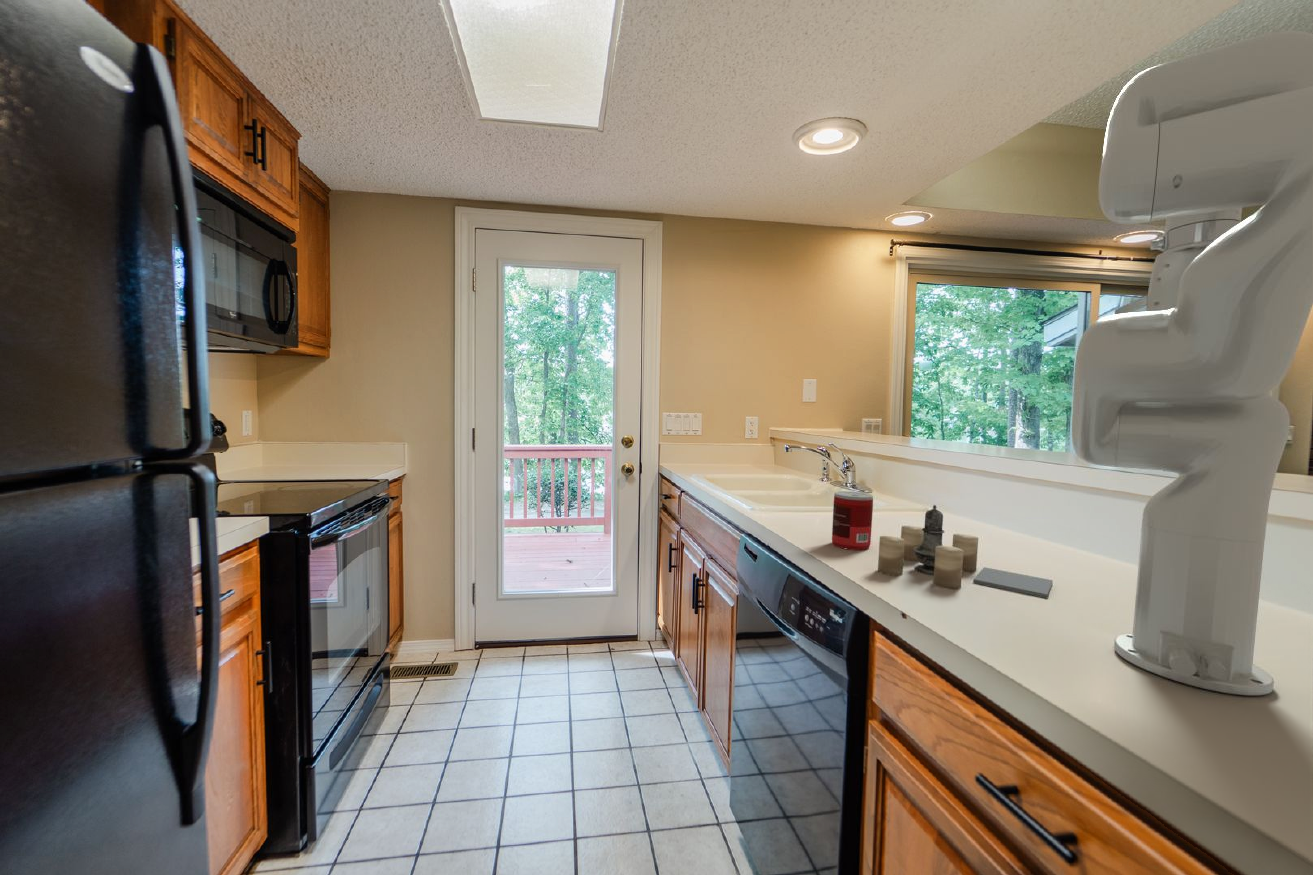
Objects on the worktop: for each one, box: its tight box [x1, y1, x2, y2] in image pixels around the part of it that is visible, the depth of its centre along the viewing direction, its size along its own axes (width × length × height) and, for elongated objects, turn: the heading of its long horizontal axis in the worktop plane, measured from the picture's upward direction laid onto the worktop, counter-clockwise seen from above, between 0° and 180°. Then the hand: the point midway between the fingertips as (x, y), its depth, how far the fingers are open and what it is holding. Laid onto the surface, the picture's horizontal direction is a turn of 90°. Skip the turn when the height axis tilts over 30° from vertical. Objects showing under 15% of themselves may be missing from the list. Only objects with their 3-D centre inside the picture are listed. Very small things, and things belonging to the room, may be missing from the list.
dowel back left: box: [900, 525, 924, 562], centre depth 102 cm, size 4×4×6 cm
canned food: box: [831, 490, 874, 551], centre depth 110 cm, size 8×8×11 cm
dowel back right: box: [951, 533, 979, 573], centre depth 96 cm, size 4×4×6 cm
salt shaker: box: [913, 504, 945, 576], centre depth 94 cm, size 6×6×12 cm
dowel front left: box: [877, 535, 905, 577], centre depth 92 cm, size 4×4×6 cm
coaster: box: [972, 566, 1053, 599], centre depth 88 cm, size 10×10×1 cm
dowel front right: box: [933, 545, 963, 590], centre depth 86 cm, size 4×4×6 cm
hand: (1189, 362), depth 76 cm, fingers open, 9 cm apart
